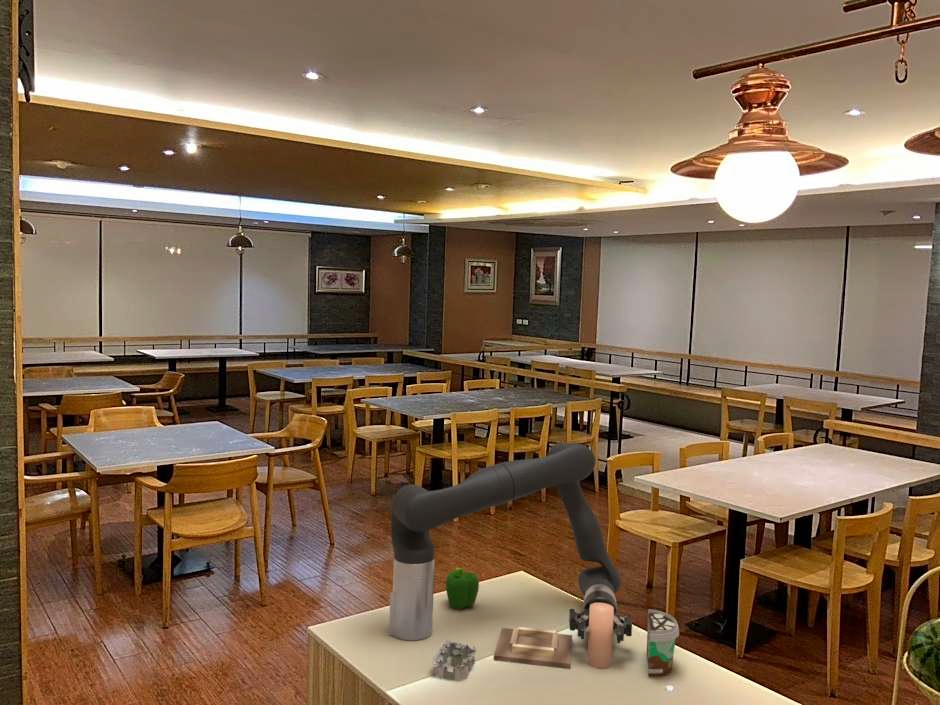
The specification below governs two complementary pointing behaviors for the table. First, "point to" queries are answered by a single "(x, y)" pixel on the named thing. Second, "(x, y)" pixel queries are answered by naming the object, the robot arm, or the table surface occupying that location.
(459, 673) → the egg carton
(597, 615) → the terracotta pin
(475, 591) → the bell pepper
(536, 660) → the board
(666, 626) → the food container
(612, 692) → the table surface
